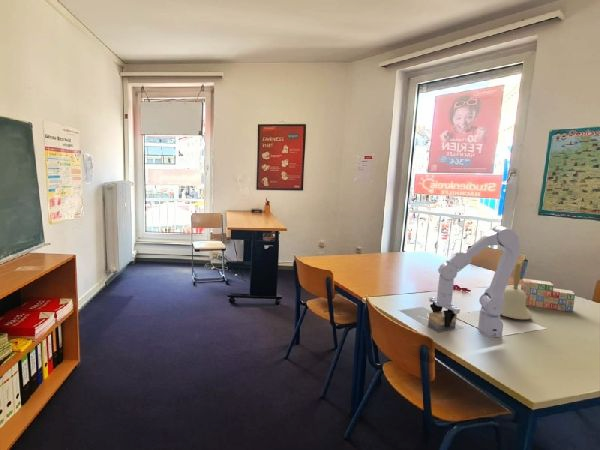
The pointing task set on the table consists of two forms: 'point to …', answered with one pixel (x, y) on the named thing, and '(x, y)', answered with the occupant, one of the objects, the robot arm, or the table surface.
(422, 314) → the slate board
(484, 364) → the table surface
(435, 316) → the felt eraser
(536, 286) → the stack of blocks
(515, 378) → the table surface
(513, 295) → the handbell
